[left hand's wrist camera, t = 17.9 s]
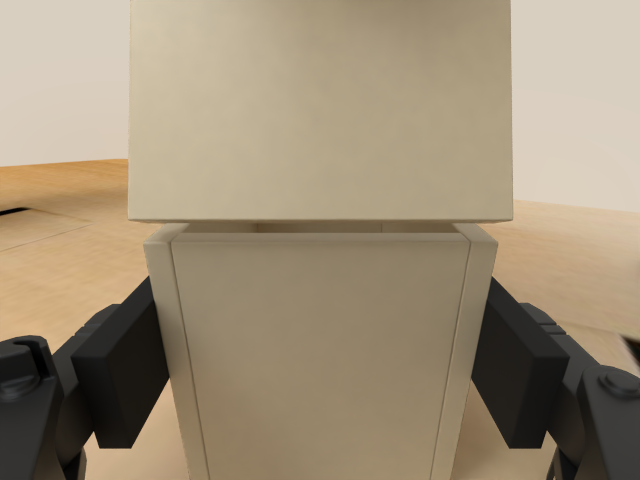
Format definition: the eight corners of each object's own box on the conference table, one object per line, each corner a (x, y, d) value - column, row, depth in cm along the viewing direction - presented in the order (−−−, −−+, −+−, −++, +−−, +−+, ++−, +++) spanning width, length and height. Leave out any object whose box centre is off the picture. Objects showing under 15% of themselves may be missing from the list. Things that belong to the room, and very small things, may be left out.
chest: (254, 302, 24) (243, 159, 21) (385, 302, 24) (396, 159, 21) (192, 496, 12) (141, 241, 9) (447, 496, 12) (499, 241, 9)
